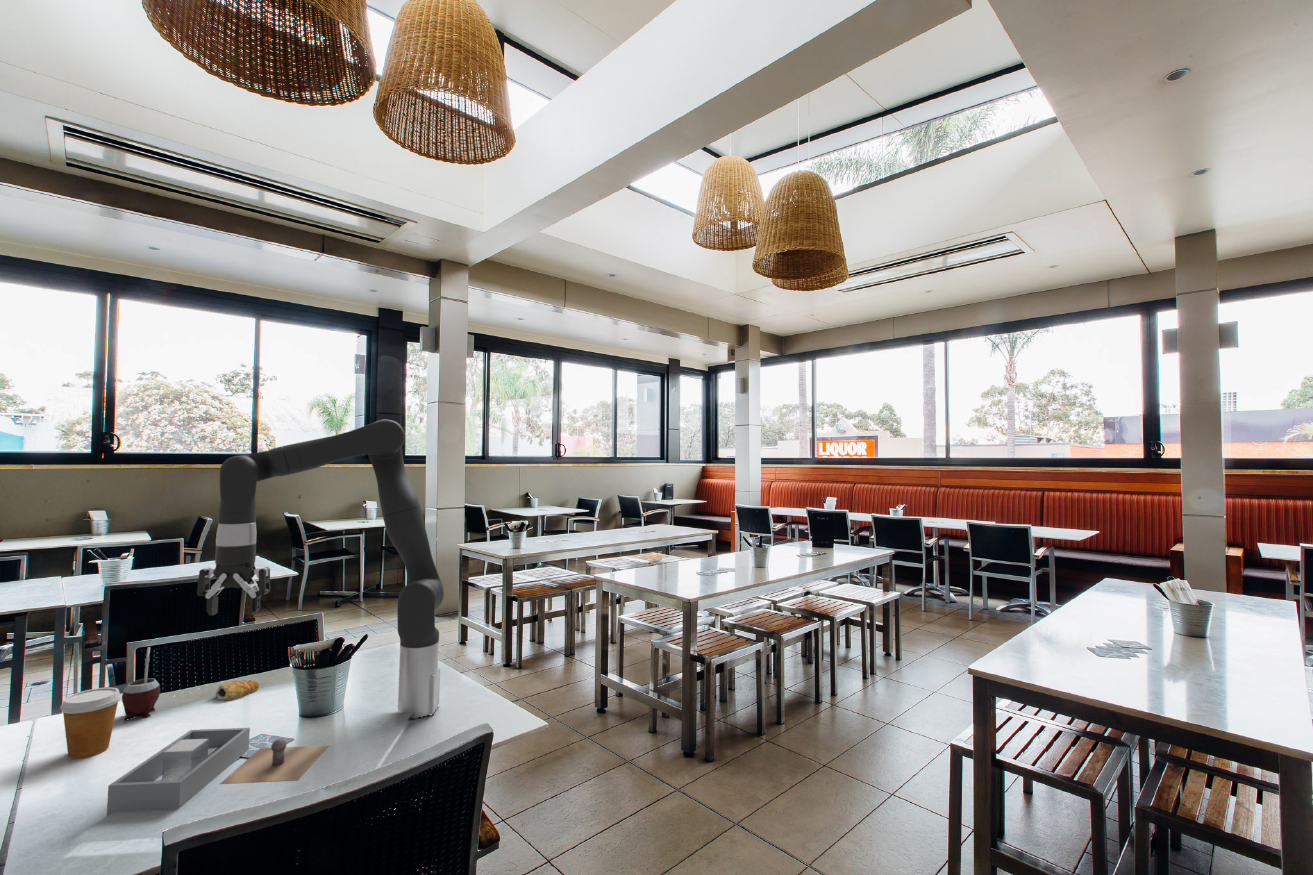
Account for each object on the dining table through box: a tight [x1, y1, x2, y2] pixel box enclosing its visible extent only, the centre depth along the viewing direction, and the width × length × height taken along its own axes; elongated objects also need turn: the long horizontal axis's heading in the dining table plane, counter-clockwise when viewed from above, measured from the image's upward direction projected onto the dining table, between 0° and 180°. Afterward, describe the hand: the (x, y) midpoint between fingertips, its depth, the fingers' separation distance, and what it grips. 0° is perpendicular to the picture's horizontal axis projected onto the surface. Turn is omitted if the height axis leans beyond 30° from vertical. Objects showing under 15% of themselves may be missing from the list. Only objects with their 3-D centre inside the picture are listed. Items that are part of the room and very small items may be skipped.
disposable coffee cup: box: [59, 687, 122, 760], centre depth 126 cm, size 10×10×12 cm
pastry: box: [215, 679, 260, 701], centre depth 158 cm, size 9×7×4 cm
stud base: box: [219, 738, 330, 785], centre depth 120 cm, size 14×14×6 cm
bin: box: [106, 727, 251, 816], centre depth 114 cm, size 22×12×6 cm, turn 7°
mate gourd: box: [121, 646, 161, 721], centre depth 145 cm, size 8×8×15 cm
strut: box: [161, 739, 218, 781], centre depth 114 cm, size 16×5×7 cm, turn 7°
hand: (233, 614), depth 133 cm, fingers open, 8 cm apart
